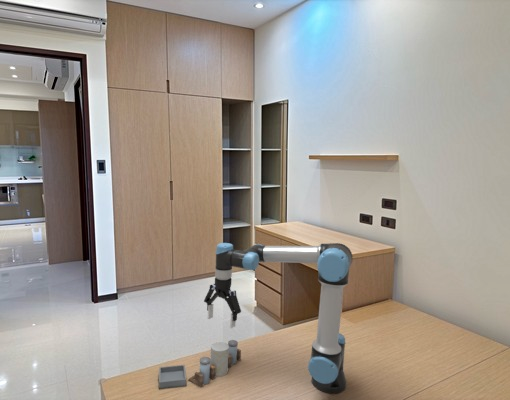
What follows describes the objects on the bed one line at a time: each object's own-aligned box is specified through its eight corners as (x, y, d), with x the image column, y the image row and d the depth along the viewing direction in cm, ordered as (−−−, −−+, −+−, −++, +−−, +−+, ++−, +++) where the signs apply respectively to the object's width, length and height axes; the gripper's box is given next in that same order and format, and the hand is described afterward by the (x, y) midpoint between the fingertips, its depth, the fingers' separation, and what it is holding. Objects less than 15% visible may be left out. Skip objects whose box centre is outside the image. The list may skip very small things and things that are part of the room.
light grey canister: (211, 377, 156) (212, 351, 155) (208, 367, 164) (209, 342, 163) (229, 375, 158) (230, 350, 157) (225, 365, 166) (226, 341, 165)
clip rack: (240, 359, 172) (241, 349, 171) (200, 387, 149) (201, 375, 148) (228, 354, 176) (229, 344, 175) (188, 380, 153) (188, 369, 152)
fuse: (238, 361, 170) (239, 342, 169) (232, 365, 166) (233, 345, 165) (231, 358, 172) (232, 339, 171) (225, 362, 169) (226, 342, 168)
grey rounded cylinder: (211, 380, 154) (212, 359, 153) (204, 385, 150) (205, 363, 149) (204, 376, 157) (204, 355, 156) (196, 381, 153) (197, 359, 152)
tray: (184, 370, 160) (184, 364, 160) (186, 386, 149) (186, 379, 149) (159, 373, 157) (159, 367, 157) (158, 389, 146) (159, 382, 146)
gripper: (250, 281, 154) (247, 328, 156) (208, 269, 168) (206, 312, 170) (239, 286, 148) (237, 334, 150) (197, 273, 162) (195, 317, 164)
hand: (221, 322), depth 160 cm, fingers open, 13 cm apart
